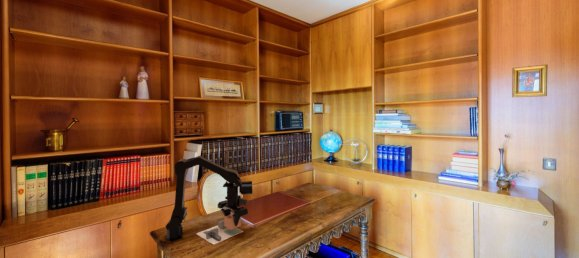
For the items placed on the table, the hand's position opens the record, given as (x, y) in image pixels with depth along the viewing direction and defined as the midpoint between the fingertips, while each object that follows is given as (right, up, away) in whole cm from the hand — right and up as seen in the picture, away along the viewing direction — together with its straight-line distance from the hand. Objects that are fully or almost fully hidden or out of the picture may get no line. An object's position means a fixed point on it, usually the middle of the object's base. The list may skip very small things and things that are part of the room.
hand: (232, 224), depth 134 cm
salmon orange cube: (0, -1, 0) cm, 1 cm away
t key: (-7, -4, -7) cm, 11 cm away
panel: (-6, -5, -1) cm, 8 cm away
